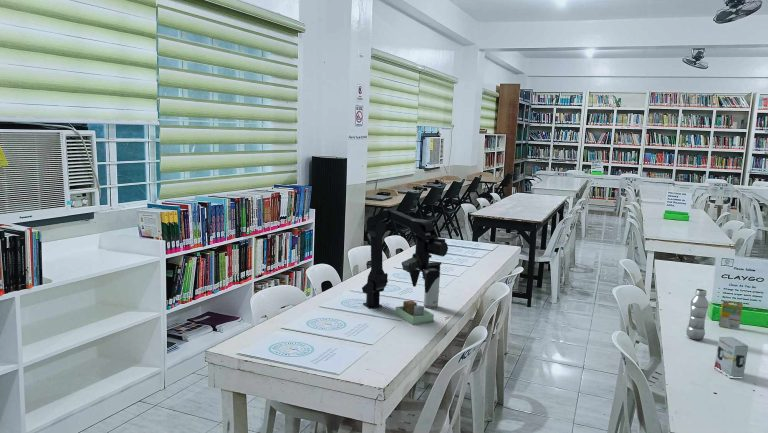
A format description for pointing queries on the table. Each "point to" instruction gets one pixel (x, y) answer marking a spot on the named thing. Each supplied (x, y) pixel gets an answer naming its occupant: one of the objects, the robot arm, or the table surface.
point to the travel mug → (433, 290)
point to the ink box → (731, 356)
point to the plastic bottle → (698, 315)
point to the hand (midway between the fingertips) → (420, 289)
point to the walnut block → (409, 307)
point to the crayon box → (730, 315)
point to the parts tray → (417, 319)
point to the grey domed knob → (418, 311)
